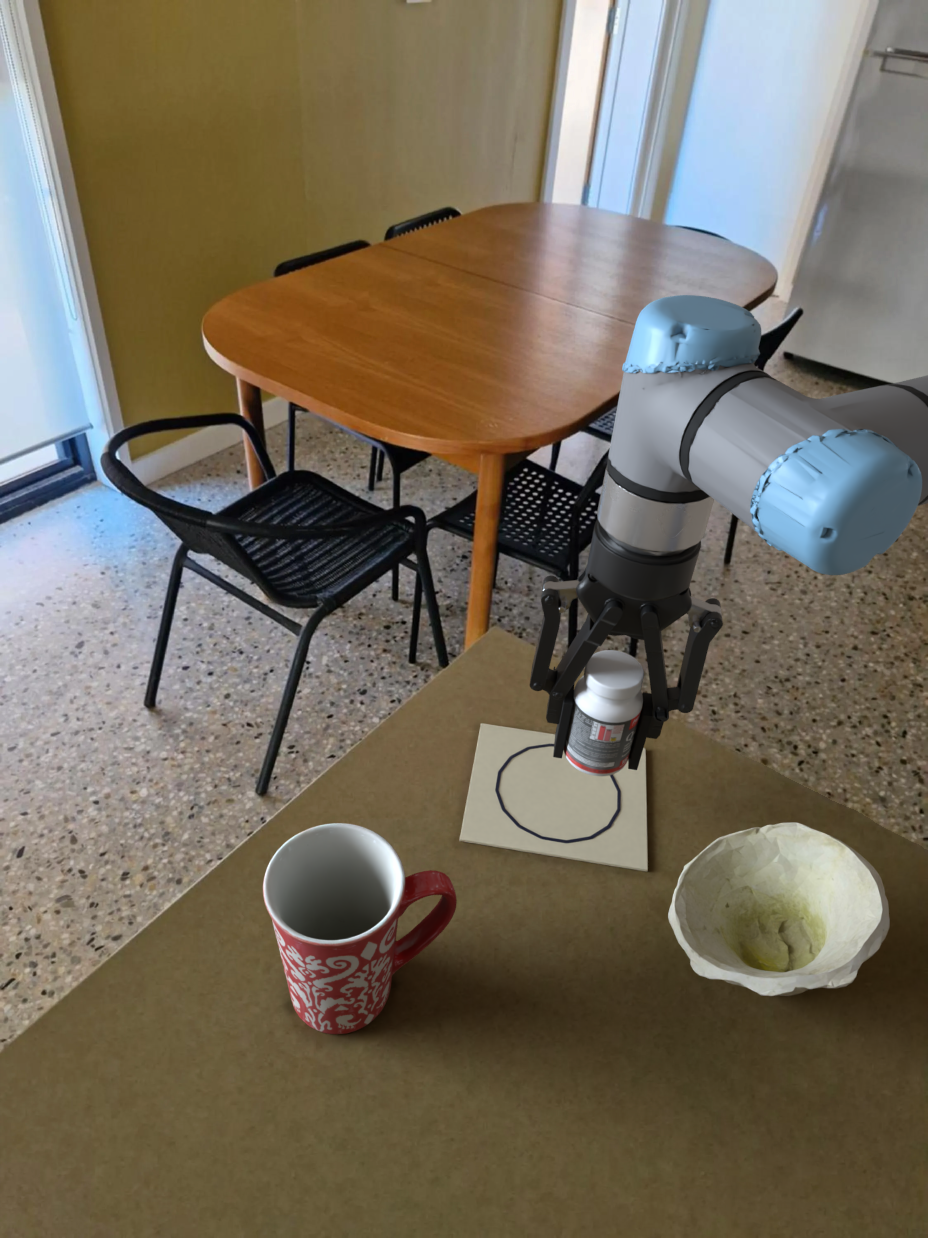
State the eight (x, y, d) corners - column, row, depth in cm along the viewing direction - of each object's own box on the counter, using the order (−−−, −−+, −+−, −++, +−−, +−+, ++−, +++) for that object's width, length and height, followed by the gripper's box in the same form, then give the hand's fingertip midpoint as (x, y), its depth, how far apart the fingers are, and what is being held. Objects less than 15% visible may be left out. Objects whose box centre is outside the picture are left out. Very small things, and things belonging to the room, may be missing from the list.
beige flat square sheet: (647, 872, 75) (647, 869, 74) (459, 841, 76) (459, 838, 76) (645, 750, 85) (645, 747, 85) (480, 725, 87) (481, 722, 86)
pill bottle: (632, 780, 75) (656, 696, 68) (565, 778, 74) (583, 692, 68) (622, 731, 79) (644, 647, 73) (559, 728, 79) (575, 643, 73)
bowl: (673, 851, 76) (701, 774, 70) (842, 901, 74) (886, 825, 67) (647, 1010, 65) (677, 935, 59) (844, 1077, 62) (898, 1005, 56)
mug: (278, 1059, 61) (263, 954, 52) (274, 940, 67) (261, 829, 59) (459, 1031, 63) (473, 926, 55) (438, 919, 70) (448, 809, 61)
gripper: (777, 517, 64) (701, 737, 79) (521, 482, 66) (493, 705, 80) (792, 577, 59) (707, 803, 73) (511, 538, 60) (482, 767, 74)
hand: (595, 751), depth 77 cm, fingers closed on pill bottle, 6 cm apart
